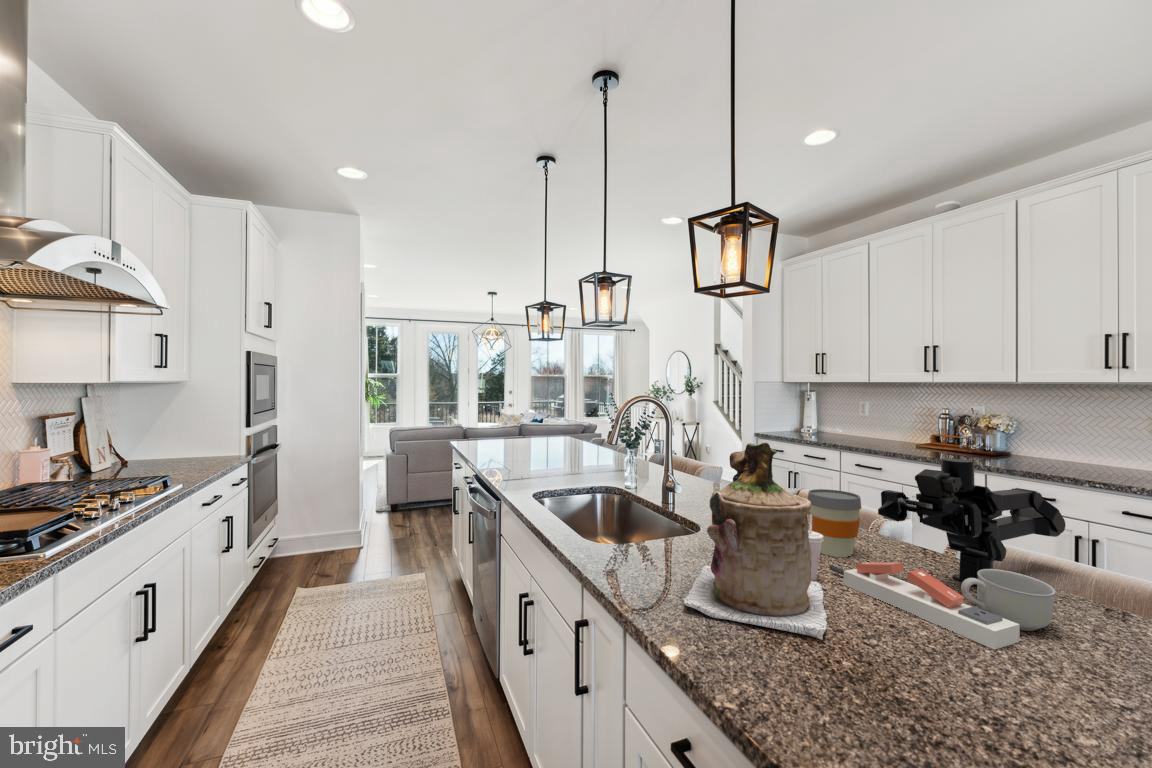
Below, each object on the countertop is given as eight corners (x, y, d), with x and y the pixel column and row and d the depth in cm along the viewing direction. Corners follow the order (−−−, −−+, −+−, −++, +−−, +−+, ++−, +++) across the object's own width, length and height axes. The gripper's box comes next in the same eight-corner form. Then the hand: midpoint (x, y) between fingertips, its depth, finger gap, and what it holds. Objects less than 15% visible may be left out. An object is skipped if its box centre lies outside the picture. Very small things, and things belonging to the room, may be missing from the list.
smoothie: (826, 584, 107) (827, 519, 107) (795, 581, 108) (796, 517, 108) (818, 573, 113) (819, 512, 113) (788, 570, 114) (789, 510, 114)
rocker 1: (869, 570, 107) (867, 561, 107) (904, 571, 99) (901, 562, 100) (857, 572, 105) (855, 563, 106) (892, 573, 98) (889, 564, 99)
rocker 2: (919, 576, 97) (921, 568, 96) (961, 604, 90) (964, 597, 89) (906, 578, 95) (909, 571, 95) (948, 607, 88) (952, 600, 88)
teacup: (1034, 615, 93) (1035, 573, 93) (1070, 643, 83) (1070, 595, 83) (947, 603, 98) (947, 563, 98) (970, 628, 88) (971, 583, 88)
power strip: (842, 570, 114) (842, 553, 115) (1019, 642, 83) (1019, 618, 83) (820, 574, 112) (820, 557, 112) (994, 649, 80) (994, 625, 80)
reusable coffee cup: (800, 542, 136) (801, 488, 136) (848, 545, 134) (849, 490, 134) (815, 558, 123) (816, 498, 123) (869, 561, 121) (870, 500, 121)
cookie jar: (823, 590, 103) (826, 438, 103) (829, 645, 81) (832, 451, 81) (704, 570, 114) (706, 431, 114) (679, 613, 91) (682, 441, 91)
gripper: (904, 465, 115) (856, 471, 109) (997, 476, 97) (947, 483, 91) (906, 513, 114) (859, 521, 108) (1001, 532, 97) (950, 543, 91)
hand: (900, 516), depth 100 cm, fingers open, 9 cm apart
